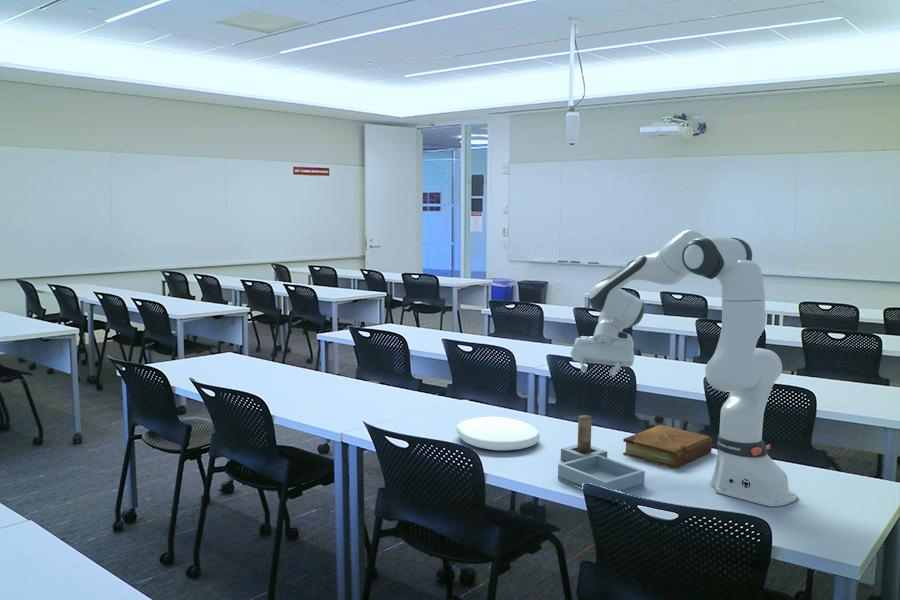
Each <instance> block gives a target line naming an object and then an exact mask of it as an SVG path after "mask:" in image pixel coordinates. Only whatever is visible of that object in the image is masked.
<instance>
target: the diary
mask: <svg viewBox="0 0 900 600" xmlns="http://www.w3.org/2000/svg"><path fill="white" fill-rule="evenodd" d="M622 440H623V441H622V442H623V443H625V452H622V455H623V454H624V456H627V455H628V457H631V458H634V457H635V459H638V458H639V460H642V459H643V460H642V461H646V462H649V461H650V463H653V462H654V464H657V465H661V466H664V465H665V466H664V467H669V468H673V469H675V468H676V469H678V468H680V467H682V466H684V465H686V464H689V463H691V462H693V461H695V460H696V459H699V458H701V457H703V456H705V455H707V454H709V453H711V452H712V450H713V449H712V448H713V438H712V437H711V436H709V435H707V434H706V435H705V434H701V433H696V432H694V431H693V432H692V431H688V430H684V429H679V428H676V427H671V426H666V425H662V424H658V425H655V426H654V427H653V426H652V427H651V428H648V429H645V430H643V431H640V432H638V433H635V434H632V435H630V436H627V437H624V438H623V439H622Z"/></svg>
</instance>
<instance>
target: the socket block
mask: <svg viewBox="0 0 900 600" xmlns="http://www.w3.org/2000/svg"><path fill="white" fill-rule="evenodd" d="M577 449H578V444H574V445H571V446H567V447H563V448H560V460H561V459H562V460H561V461H563V460H565V461H564V462H566V461H567V462H568V461H572V460H576V459H580V458H584V457H587V456H591V455H595V454H598V455H601V456H604V457H606V458H608V451H607V450H604V449H601V448H599V447H595V446H593V445H591V453H588V454H582V453H579V452H577Z"/></svg>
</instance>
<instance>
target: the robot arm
mask: <svg viewBox="0 0 900 600" xmlns="http://www.w3.org/2000/svg"><path fill="white" fill-rule="evenodd" d="M752 260H753V250H752V248H751V246H750V245H749V243H748V242H746V241H744V239H741V238H738V237H723V236H718V235H717V236H707V237H705V236H704V235H703V234H702V233H700V231H697V230H694V229H686V230H683V231H681V232H680V233H678V234H677V235H676V236H674V237H673V238H672V239H670V240H669V241H668V242H667V243H666V244H665V245H664V246H663V247H661V248H660V249H659V250H658V251H655V252H653V253H651V254H646V255H639V256H636V257H635V258H633V259H632V260H630V261H629V262H627V263H626V264H624V265H623V266H622V267H620V268H619V269H617V270H616V271H615V272H613V273H612V274H611V275H609V276H608V277H606V278H604V279H602V280H600V281H598V282H597V283H595V284H594V285H593V287H592V288H591V289H590V291H589V294H588V301H589V304H590V306H591V308H592V309H593V310H595V311H598V312H599V316H598V323H597V325H596V327H595V329H594V332H593V336H584V335H581V336H579V337H576V338H575V339H574V343H573V347H572V349H571V351H570V355H571V358H572V360H573V361H574V362H579V363H580V365H581V366H580V372H581V373H587V370H588V368H587V365H586V363H588V364H597V365H598V364H599V365H600V364H601V365H608V366H614V367H613V368H610V370H609V373H608V374H609V376H611V377H616V373H617V372H618V371H619V370H621V367H626V368H627V367H628V368H630V367H632V366H633V365H634V361H635V351H634V350H635V349H634V347H635V345H634V340H633V338H632V337H633V336H632V335H631V334H630V333H627V332H624V331H623V330H624V329H629V328H631V327H634V326H636V325H638V324H640V323H641V321H642V319H643V318H644V317H643V316H644V314H645V303H644V302H643V300H642V299H640V298H639V297H637V296H635V295H633V294H631V293H629V292H627V291H626V290H624V289H622V288H623V287H624V286H626V285H627V284H629V283H630V282H632V281H635V280H636V281H638V280H640V281H646V282H652V283H655V284H659V285H664V286H668V285H669V286H671V285H674V284H677V283H679V282H681V281H682V280H683V279H685V278H686V277H687V276H688V275H689V274H690V273H691V274H694V275H697V276H700V277H703V278H707V279H708V280H713V279H717V280H718V281H719V282H720V285H721V286H720V287H721V329H720V335H719V338H718V342H717V345H716V348H715V351H714V353H713V355H712V357H711V358H710V359H709V360H708V361H707V363H706V365H705V370H704V372H705V378H706V380H707V382H708V384H709V385H710V386H711V387H712V388H713V389H714V390H717V391H720V392H728V393H729V396H728V397H727V399H726V401H724V402H723V404H722V407H721V408H720V417H719V418H720V420H719V421H720V422H719V434H718V435H717V444H716V450H717V458H716V463H715V467H714V468H715V469H714V471H713V474H712V477H711V480H710V484H711V486H713V488H714V489H715V490H714V491H715V492H716V493H717V494H720V495H721V494H722V495H725V496H729V497H733V498H736V499H740V500H744V501H747V502H751V503H754V504H758V505H763V506H767V507H780V506H785V505H789V504H791V503H793V502H795V501H796V500H797V499H798V493H797V492H796V491H794V490H792V489H790V488H789V487H790V486H789V479H788V476H787V474H786V472H785V470H783V469H782V468H781V467H780V466H779V465H778V464H777V463H776V462H775V461H774V460H773V459H772V458H771V457H770V456H769V455H768V451H767V450H770V449H771V445H772V444H767V445H766V444H765V442H764V440H763V438H762V437H763V428H764V427H763V426H764V425H763V424H764V414H765V409H766V405H767V403H768V399H769V396H770V394H771V392H772V389H773V387H774V385H775V383H776V381H777V380H779V378H780V376H781V374H782V373H783V372H782V371H783V364H782V360H781V358H780V357H779V355H778V354H777V353H776V352H775V351H773V350H770V349H766V348H761V347H756V346H757V344H758V343H757V342H758V341H759V338H760V336H761V334H763V332H764V331H765V327H766V300H765V299H766V297H765V296H766V295H765V293H766V292H765V286H764V285H765V284H764V279H763V274H762V268H761V267H760V265H759V264H758V263H757V262H755V261H752Z"/></svg>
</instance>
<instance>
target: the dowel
mask: <svg viewBox="0 0 900 600" xmlns="http://www.w3.org/2000/svg"><path fill="white" fill-rule="evenodd" d="M592 419H593V418H592V416H591V415H586V414H585V415H584V414H583V415H582V414H581V415H578V421H577V424H578V427H577V445H578V449H577V452H579V453H582V454H588V453H591V446H592V421H593V420H592Z"/></svg>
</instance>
